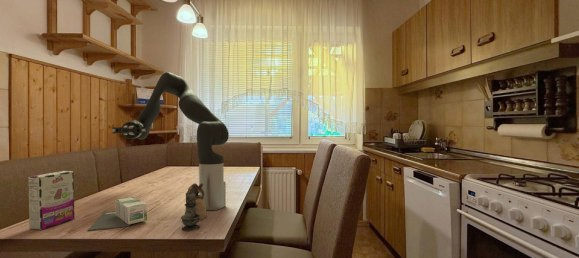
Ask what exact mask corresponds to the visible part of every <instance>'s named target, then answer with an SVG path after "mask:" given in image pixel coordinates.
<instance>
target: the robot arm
mask: <svg viewBox="0 0 579 258" xmlns="http://www.w3.org/2000/svg"><path fill="white" fill-rule="evenodd" d="M164 92H165V93H168V94H170V95H174V96H176V97H177V98H179V100H178V107H179V109H180V112H182V114H183V115H184V116H185V117H186V118H187V119H188V120H190V121H192V122H194V123H195V124H198V126H197V128H196V145H197V148H196V149H197V156H198V186H199V185H200V184H201V183H202V184H203V186H202V189H203V191H204V197H203V199H204V203H205V207H206V211H216V210H220V209H223V208H224V207H225V206H227V205H226V203H227V201H226V199H227V198H226V197H227V196H226V193H227V192H226V188H227V187H226V185H227V184H226V181H224V180H225V179H224V176H225V175H224V166H225V165H224V161H225V160H224V155H222V154H219V153H216V152H215V151H213V146H220V145H224V144H225V143H227V142H228V141H229V137H230V135H229V130H228V128H227V125H226V124H225V123H224V122H223V120H221V119H219V118H218V117H217V116H216V115H215V114H214V113H212V111H211V110H210V109H209V108H208V107H207V106H206V105H205V104H204V102H203V101H202V100H201V99H200V97H198V95H197V94H196V93H195V92H194V91H193V90H192V89H191V87H190V86H189V84H188V82H187V81H186V79H184V78H183V77H182V76H180V75H178V74H175V73H172V72H169V71H165V72H163V73H162V74H161V76H160V77H159V79H158V80H157V83H156V84H155V87H154V88H153V91H152V92H151V95H150V97H149V99H148V101H147V103H146V105H145V106H144V107H143V109H142V110H141V112H140V113H139V115H138V116H137V118H138V119H137V120H136V119H133V120H131V121H127V122H125V123H123V125H122V126H119V127H117V126H116V127H114V126H113V127H111V128H112V131H111V133H112V134H121V135H122V136H123V137H125V138H126V139H127V140H128V139H129V140H130V139H131V140H133V139H138V140H140V141H142V140H145V139H146V138H147V137H148V136H149V134H150V131H151V128H152V125H153V123H154V121H156V118H158V116H159V114H160V112H161V96H162V95H163V94H164ZM198 195H200V196H202V193H201V192H199V194H198Z"/></svg>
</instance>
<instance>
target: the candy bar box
mask: <svg viewBox="0 0 579 258" xmlns="http://www.w3.org/2000/svg"><path fill="white" fill-rule="evenodd" d="M27 179H28V180H27V181H28V182H27V185H28V215H29V216H28V217H29V218H28V219H29V230H33V231H34V230H37V231H43V230H46V229H49V228H52V227H54V226H57V225H60V224H63V223H66V222H69V221H72V220H75V194H74V193H75V186H74V184H75V182H74V181H75V180H74V171H72V170H61V171H60V170H59V171H55V172H47V173H44V174H43V173H42V174H37V175H30V176H28V177H27Z"/></svg>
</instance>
